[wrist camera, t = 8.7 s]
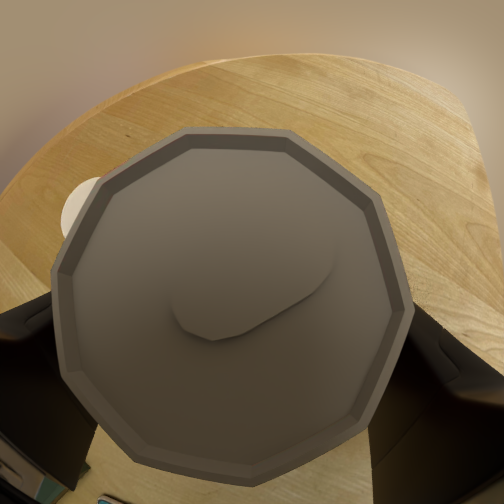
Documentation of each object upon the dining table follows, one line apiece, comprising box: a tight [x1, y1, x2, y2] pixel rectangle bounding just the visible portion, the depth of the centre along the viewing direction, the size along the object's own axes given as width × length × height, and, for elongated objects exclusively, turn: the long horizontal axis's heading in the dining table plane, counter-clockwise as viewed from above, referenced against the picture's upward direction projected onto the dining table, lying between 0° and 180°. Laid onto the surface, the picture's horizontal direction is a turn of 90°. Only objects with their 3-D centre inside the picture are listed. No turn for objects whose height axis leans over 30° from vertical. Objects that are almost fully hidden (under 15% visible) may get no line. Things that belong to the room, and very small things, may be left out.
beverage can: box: [51, 127, 415, 487], centre depth 10 cm, size 6×6×12 cm
